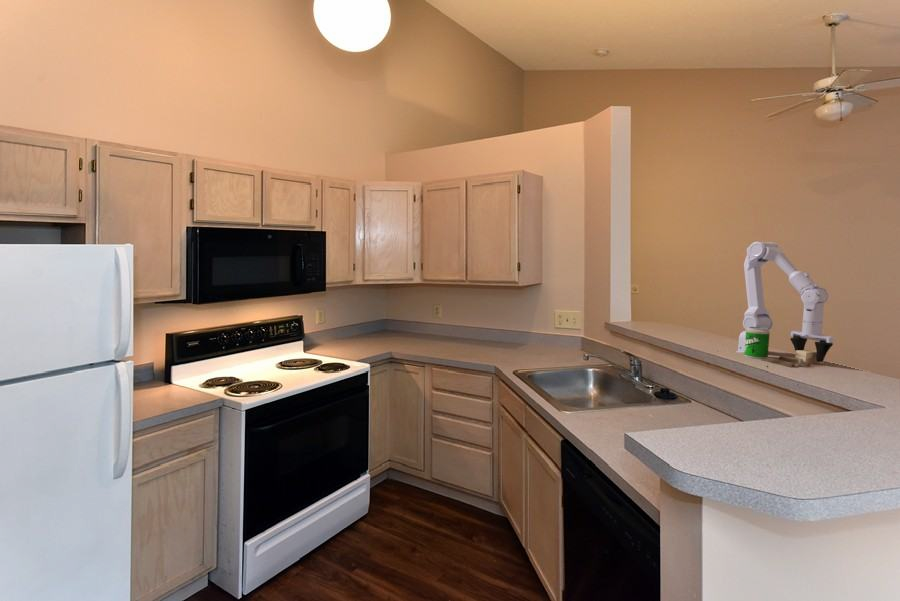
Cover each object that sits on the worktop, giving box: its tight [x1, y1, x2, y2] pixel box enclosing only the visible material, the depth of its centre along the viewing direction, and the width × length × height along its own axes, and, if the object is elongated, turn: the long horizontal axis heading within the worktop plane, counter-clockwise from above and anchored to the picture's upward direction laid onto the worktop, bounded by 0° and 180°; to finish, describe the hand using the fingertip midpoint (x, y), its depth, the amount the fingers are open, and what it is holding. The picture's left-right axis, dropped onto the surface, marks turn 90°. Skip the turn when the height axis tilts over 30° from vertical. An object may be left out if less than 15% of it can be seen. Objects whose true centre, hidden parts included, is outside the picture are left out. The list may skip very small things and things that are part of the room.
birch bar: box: [794, 349, 825, 364], centre depth 176 cm, size 8×4×4 cm, turn 104°
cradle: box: [761, 355, 837, 368], centre depth 175 cm, size 12×20×4 cm, turn 104°
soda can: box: [743, 327, 771, 360], centre depth 184 cm, size 8×8×12 cm
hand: (809, 359), depth 176 cm, fingers open, 7 cm apart
